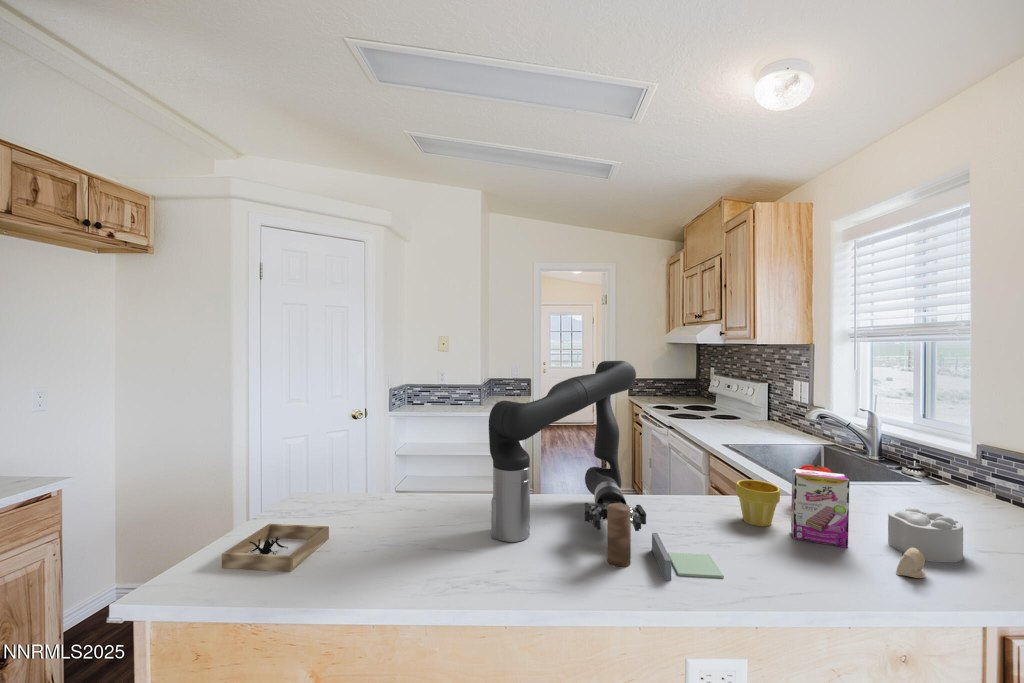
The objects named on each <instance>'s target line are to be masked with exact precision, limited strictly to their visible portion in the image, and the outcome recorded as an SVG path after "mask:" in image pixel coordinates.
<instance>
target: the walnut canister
mask: <svg viewBox="0 0 1024 683" xmlns="http://www.w3.org/2000/svg"><path fill="white" fill-rule="evenodd" d="M631 508H632V507H631V506H630V505H628V504H627V505H625V504H620V503H613V504H609V505H608V506H607V520H606V521H607V524H606V527H607V528H606V529H607V531H606V532H607V533H606V535H607V536H606V540H607V541H606V543H607V544H606V545H607V547H606V549H607V550H606V553H607V554H606V557H607V558H606V560H607V561H608V562H607V563H608V564H609V565H610V566H612V567H615V568H623V569H624V568H628V567H629V566H631V565H632V564H631V563H632V562H631V558H632V557H631V555H632V552H631V551H632V548H631V546H632V545H631V542H632V539H631V537H632V536H631V534H632V533H631V530H632V529H631V528H632V527H631V526H632V523H631Z"/></svg>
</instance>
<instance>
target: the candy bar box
mask: <svg viewBox="0 0 1024 683" xmlns="http://www.w3.org/2000/svg"><path fill="white" fill-rule="evenodd" d="M849 509H850V479H849V478H848V477H847V476H846V475H845V474H844V473H835V472H833V473H828V472H819V471H811V470H802V469H799V468H792V469H791V510H790V512H791V514H790V518H791V520H790V524H791V525H790V531H791V534H792V538H793V539H794V540H799V541H806V542H811V543H817V544H823V545H828V546H835V547H841V548H846V549H847V548H848V547H849V527H850V526H849V520H850V518H849V517H850V515H849V514H850V510H849Z"/></svg>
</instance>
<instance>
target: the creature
mask: <svg viewBox="0 0 1024 683" xmlns="http://www.w3.org/2000/svg"><path fill="white" fill-rule="evenodd" d="M269 534H270V532H269ZM280 539H281V538H278V537H275V540H274V539H271V541H270V538H269V537H268V539H267V540H265V541H264V542H263V545H262V548H261V547H260V546H261V544H260V539H259V543H258V545H257V544H255V543H253V542H250V543H252V544H254V545H255V546H256V547H255V548H254V549H252V550H251V551H249V553H253V552H255V551H257V550H258V552H257V554H269V555H270V553H272V555H277V553H278V552H279V551H280V550H279V549H278V550H274V551H273V550H272V548H273V546H274V545H275V544H276V546H277V547H278V548H281V549H282V548H285V549H288V548H289V547H288V546H283V545H282V544H280V543H279V542H278V541H279V540H280Z"/></svg>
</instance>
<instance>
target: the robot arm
mask: <svg viewBox="0 0 1024 683" xmlns="http://www.w3.org/2000/svg"><path fill="white" fill-rule="evenodd" d="M636 378H637V372H636V369H635V367H634V366H633V364H632V363H630V362H628V361H625V360H603V361H601V362H599V363H598V364H597V366H596V367H595V372H594V373H590V374H588V373H587V374H583V375H578V376H573V377H570V378H566V379H565V380H562V381H560V382H558V383H556V384H554V385H553V386H552V387H551V388H550V389H549V391H548V393H547V394H546V395H545V396H544V397H542V398H539V399H537V400H533V401H530V402H517V401H511V400H501V401H497V402H496V403H495V404H494V405H493V406H492V408H491V410H490V413H489V417H488V439H489V440H488V443H489V444H488V445H489V454H490V455H491V456H490V457H491V460H492V498H491V503H490V504H491V511H490V512H491V514H490V515H491V517H490V518H491V519H490V520H491V528H490V529H491V532H490V533H491V539H495V540H498V541H501V542H507V543H508V542H509V543H516V542H521V541H525V540H527V539H528V538H529V537H530V535H531V534H530V533H531V532H530V531H531V525H530V524H531V522H530V521H531V520H530V519H531V518H530V517H531V516H530V515H531V512H530V511H531V510H530V508H531V507H530V506H531V505H530V504H531V502H530V501H531V496H530V495H531V493H530V492H531V490H530V486H531V479H530V478H531V476H530V474H531V469H530V468H531V466H530V465H531V462H530V454H529V452H527V451H526V450H525V449H524V448H523V446H522V445H521V443H520V441H525V440H528V439H529V438H531V437H533V436H535V435H536V434H538V433H539V432H541V431H542V430H544V429H545V428H547V427H548V426H550V425H551V424H553V423H555V422H557V421H560V420H562V419H564V418H566V417H568V416H570V415H573V414H575V413H577V412H579V411H581V410H583V409H586V408H587V407H589V406H591V405H593V404H595V411H596V412H595V413H596V426H595V427H596V428H595V429H596V430H595V438H594V448H593V449H594V450H593V454H594V455H593V456H594V457H596V458H597V459H599V460H602V461H605V462H607V463H608V464H609V468H608V467H607V468H606V467H601V466H600V467H599V466H591V467H589V468H588V469H587V470H586V472H585V475H584V484H585V487H586V489H587V490H588V491H589V492H590V493H591V494H592V495H593V498H594V504H595V506H593V505H592V504H590V502H585V503H584V522H585V523H590V522H592V526H593V527H594V528H596V530H601V523H605V522H606V521H607V506H608V505H609V504H613V503H620V504H625V505H628V504H627V501H626V498H625V496H624V494H623V491H622V490H621V489H622V476H621V473H620V472H621V471H620V467H619V445H620V444H619V442H620V428H619V425H618V422H617V419H616V416H615V414H614V411H613V409H612V404H611V399H612V398H611V396H612V395H616V394H619V393H622V392H625V391H628V390H629V389H631V388H632V387H633V385H634V384H635V381H636ZM630 508H631V525H632V526H633V527H634V528H633V529H634V530H635V532H640V530H641V529H642V525H647V513H646V511H645V509H644V508H643V506H642V505H641V504H636V505H635V507H630Z"/></svg>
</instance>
